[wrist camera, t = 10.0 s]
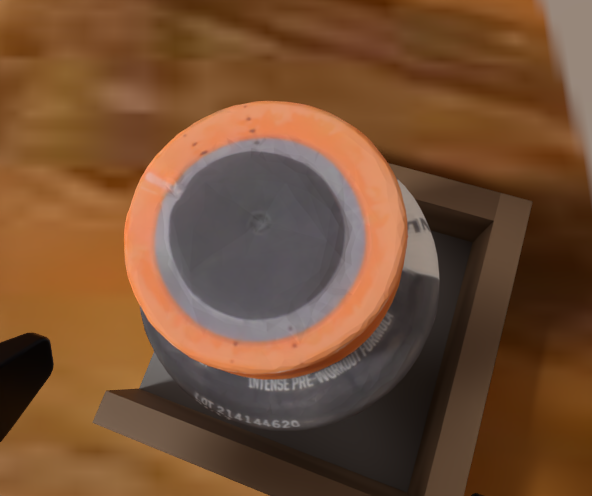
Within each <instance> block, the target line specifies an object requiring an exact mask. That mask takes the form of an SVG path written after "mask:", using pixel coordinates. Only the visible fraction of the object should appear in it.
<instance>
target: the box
mask: <svg viewBox="0 0 592 496" xmlns="http://www.w3.org/2000/svg"><path fill="white" fill-rule="evenodd" d="M388 164H389V166H390V167H391V169H392V171H393V173H394V174H395V176H396V177H397V178H398V179H399V181H400V182H401V183H402V184H403V185H404V186H405V187H406V188H407V190H408V191H409V192H410V193H411V195H412V196H413V197H414V199H415V200H416V202H417V203H418V205H419V207H420V209H421V211H422V213H423V215H424V217H425V219H426V221H427V223H428V226H429V228H430V231H431V234H432V237H433V240H434V243H435V248H436V252H437V258H438V268H439V299H438V306H437V313H436V317H435V320H434V323H433V326H432V329H431V332H430V334H429V336H428V338H427V340H426V342H425V345H424V347H423V349H422V351H421V353H420V355H419V357H418V358H417V360H416V361H415V363H414V364H413V366H412V367H411V369H410V370H409V371H408V373H407V374H406V375H405V377H404V378H403V379H402V380H401V381H400V382H399V383H398V384H397V385H396V386H395V387H394V388H393V389H392V390H391V391H390V392H389V393H388V394H387V395H385V396H384V397H382V398H381V399H380V400H378V401H377V402H376V403H375V404H373V405H372V406H371V407H369V408H367V409H366V410H364V411H362V412H360V413H359V414H357V415H355V416H353V417H350V418H348V419H345V420H342V421H340V422H337V423H334V424H331V425H327V426H324V427H320V428H315V429H309V430H303V431H271V430H265V429H257V428H253V427H250V426H246V425H242V424H239V423H235V422H232V421H230V420H228V419H226V418H224V417H222V416H220V415H218V414H216V413H214V412H212V411H210V410H209V409H207V408H205V407H204V406H203V405H201V404H200V403H198V402H197V401H196V400H194V399H193V398H192V397H191V396H189V395H188V394H187V393H186V392H185V391H184V390H183V389H182V388H181V387H180V386H179V385H178V384H177V383H176V382H175V381H174V380H173V378H172V377H171V376H170V375H169V374H168V373H167V371H166V370H165V368H164V367H163V365H162V364H161V362H160V361H159V359H158V357H157V355H156V353H155V351H154V354H153V356H152V358H151V361H150V363H149V366H148V368H147V371H146V373H145V376H144V378H143V381H142V383H141V386H140V388H139V389H126V390H110V391H106V392H105V394H104V397H103V399H102V401H101V404H100V406H99V409H98V411H97V413H96V416H95V418H94V420H93V423H95V424H97V425H100V426H102V427H104V428H107V429H109V430H112V431H114V432H117V433H119V434H121V435H124V436H126V437H129V438H131V439H134V440H136V441H139V442H141V443H143V444H146V445H148V446H151V447H153V448H156V449H158V450H160V451H163V452H165V453H168V454H170V455H173V456H175V457H177V458H180V459H182V460H185V461H187V462H190V463H192V464H195V465H197V466H199V467H202V468H204V469H207V470H209V471H212V472H214V473H216V474H219V475H221V476H224V477H226V478H229V479H231V480H233V481H236V482H238V483H241V484H243V485H246V486H248V487H251V488H253V489H255V490H258V491H260V492H263V493H265V494H268V495H270V496H464V492H465V488H466V484H467V479H468V475H469V471H470V467H471V462H472V458H473V454H474V449H475V445H476V441H477V437H478V432H479V428H480V424H481V420H482V415H483V411H484V407H485V402H486V398H487V394H488V390H489V385H490V381H491V377H492V373H493V368H494V364H495V360H496V356H497V351H498V347H499V343H500V338H501V334H502V330H503V326H504V321H505V317H506V313H507V309H508V304H509V300H510V296H511V291H512V287H513V283H514V279H515V274H516V270H517V266H518V262H519V257H520V253H521V249H522V245H523V240H524V236H525V232H526V227H527V223H528V219H529V215H530V210H531V206H532V202H533V201H529V200H526V199H522V198H518V197H514V196H511V195H507V194H503V193H499V192H496V191H492V190H488V189H484V188H480V187H477V186H473V185H469V184H465V183H462V182H458V181H454V180H450V179H447V178H443V177H439V176H435V175H432V174H428V173H424V172H420V171H416V170H413V169H409V168H405V167H401V166H398V165H394V164H390V163H388Z"/></svg>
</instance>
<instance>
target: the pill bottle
mask: <svg viewBox="0 0 592 496" xmlns="http://www.w3.org/2000/svg"><path fill="white" fill-rule="evenodd" d="M124 248H125V263H126V269H127V274H128V279H129V282H130V284H131V287H132V290H133V292H134V295H135V297H136V299H137V301H138V303H139V304H140V311H141V316H142V320H143V324H144V328H145V331H146V334H147V336H148V339H149V341H150V343H151V345H152V347H153V349H154V351H155V353H156V355H157V357H158V359H159V361H160V362H161V364H162V365H163V367H164V368H165V370H166V371H167V373H168V374H169V375H170V376H171V377H172V378H173V380H174V381H175V382H176V383H177V384H178V385H179V386H180V387H181V388H182V389H183V390H184V391H185V392H186V393H187V394H188V395H189V396H191V397H192V398H193V399H194V400H196V401H197V402H198V403H200V404H201V405H203V406H204V407H205V408H207V409H209V410H210V411H212V412H214V413H216V414H218V415H220V416H222V417H224V418H226V419H228V420H230V421H232V422H235V423H239V424H242V425H246V426H250V427H253V428H257V429H265V430H271V431H303V430H309V429H315V428H320V427H324V426H327V425H331V424H334V423H337V422H340V421H342V420H345V419H348V418H350V417H353V416H355V415H357V414H359V413H360V412H362V411H364V410H366V409H367V408H369V407H371V406H372V405H373V404H375V403H376V402H377V401H378V400H380V399H381V398H382V397H384V396H385V395H387V394H388V393H389V392H390V391H391V390H392V389H393V388H394V387H395V386H396V385H397V384H398V383H399V382H400V381H401V380H402V379H403V378H404V377H405V375H406V374H407V373H408V371H409V370H410V369H411V367H412V366H413V364H414V363H415V361H416V360H417V358H418V357H419V355H420V353H421V351H422V349H423V347H424V345H425V342H426V340H427V338H428V336H429V334H430V332H431V329H432V326H433V323H434V320H435V317H436V313H437V306H438V299H439V268H438V258H437V252H436V248H435V243H434V240H433V237H432V234H431V231H430V228H429V226H428V223H427V221H426V219H425V217H424V215H423V213H422V211H421V209H420V207H419V205H418V203H417V202H416V200H415V199H414V197H413V196H412V195H411V193H410V192H409V191H408V190H407V188H406V187H405V186H404V185H403V184H402V183H401V182H400V181H399V179H398V178H397V177H396V176H395V174H394V173H393V171H392V169H391V167H390V166H389V164H388V163H387V161H386V160H385V158H384V157H383V156H382V154H381V153H380V152H379V151H378V149H377V148H376V147H375V146H374V144H373V143H372V142H371V141H370V140H369V138H367V137H366V136H365V135H364V134H363V133H361V132H360V131H359V130H358V129H356V128H355V127H354V126H352V125H350V124H349V123H347V122H346V121H344V120H342V119H340V118H339V117H337V116H335V115H333V114H331V113H329V112H327V111H324V110H321V109H318V108H315V107H312V106H308V105H304V104H298V103H292V102H280V101H256V102H251V103H246V104H241V105H236V106H232V107H229V108H226V109H223V110H220V111H218V112H215V113H213V114H211V115H209V116H207V117H205V118H203V119H201V120H199V121H197V122H195V123H194V124H192V125H191V126H190V127H188V128H187V129H185V130H183V131H182V132H180V133H179V134H177V135H176V136H175V138H174V139H172V140H171V141H170V142H169V143H168V144H167V145H166V146H165V147H164V148H163V149H162V150H161V151H160V152H159V153H158V154H157V155H156V156H155V158H154V159H153V160H152V162H151V163H150V164H149V166H148V167H147V169H146V170H145V172H144V174H143V175H142V177H141V179H140V181H139V183H138V186H137V188H136V190H135V193H134V196H133V199H132V202H131V206H130V209H129V212H128V214H127V217H126V223H125V230H124Z"/></svg>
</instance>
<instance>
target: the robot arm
mask: <svg viewBox="0 0 592 496" xmlns="http://www.w3.org/2000/svg"><path fill="white" fill-rule="evenodd" d="M53 365H54V364H53V357H52V350H51V344H50V340H49V339H48V338H47V337H44V336H42V335H39V334H36V333H26V334H23V335H20V336H17V337H15V338H12V339H9V340H6V341H4V342H1V343H0V442H1V441H2V440H3V439H4V437H5V436H6V435H7V433H8V432H9V431H10V430H11V428H12V427H13V426H14V424H15V423H16V422H17V420H18V419H19V417H20V416H21V415H22V413H23V412H24V411H25V409H26V408H27V406H28V405H29V404H30V402H31V401H32V400H33V398H34V397H35V395H36V394H37V393H38V391H39V390H40V389H41V387H42V386H43V384H44V383H45V382H46V380H47V379H48V378H49V376H50V374H51V372H52V370H53ZM472 496H483V495H481V494H478V493H475V494H472Z"/></svg>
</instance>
